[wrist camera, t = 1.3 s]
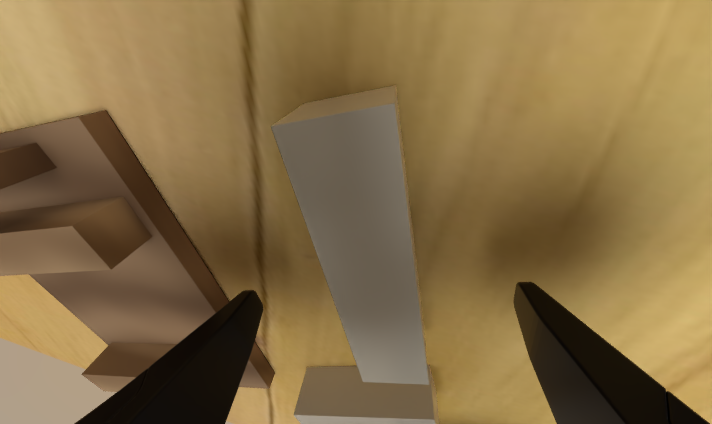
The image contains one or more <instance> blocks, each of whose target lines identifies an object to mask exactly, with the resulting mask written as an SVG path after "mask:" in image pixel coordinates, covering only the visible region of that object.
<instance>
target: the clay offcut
mask: <svg viewBox="0 0 712 424" xmlns="http://www.w3.org/2000/svg"><path fill="white" fill-rule="evenodd" d="M427 368H428V380H429V385H424V384H400V383H375V382H363V381H362V378H361V375H360V372H359V370H358V367H357V366H329V367H307V369H306V373H305V376H304V380H303V383H302V387H301V390H300V394H299V398H298V401H297V405H296V408H295V412H294V416H295V417H296V418H297V420H298V421H299V422H300V423H301V424H440V422H439V412H438V403H437V393H436V388H435V384H434V380H433V376H432V373H431V369H430V365H427Z"/></svg>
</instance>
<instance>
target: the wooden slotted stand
mask: <svg viewBox="0 0 712 424" xmlns="http://www.w3.org/2000/svg"><path fill="white" fill-rule="evenodd" d="M26 274H29V275H30V276H31V277H32V278H33V279H35V280H36V281H37V282H38V283H39V284H40V285H41V286H42V287H44V288H45V289H46V290H47V291H48V292H49V293H50V294H51V295H53V296H54V297H55V298H56V299H57V300H58V301H59V302H60V303H61V304H63V305H64V306H65V307H66V308H67V309H68V310H69V311H70V312H72V313H73V314H74V315H75V316H76V317H77V318H78V319H79V320H81V321H82V322H83V323H84V324H85V325H86V326H87V327H88V328H90V329H91V330H92V331H93V332H94V333H95V334H96V335H97V336H99V337H100V338H101V339H102V340H103V341H104V342H105V343H106V344H108V345H109V346H108V347H107V348H106V349H105V350H104V351H103V352H102V353H101V354H100V355H99V356H98V357H97V358H96V359H95V361H94V362H93V363H92V364H91V365H90V366H89V367H88V368H87V369H86V370H85V371H84V372H83V373H82V375H83V376H84V377H86V378H87V379H88V380H90V381H91V382H92V383H94V384H95V385H96V386H98V387H99V388H100V389H102V390H103V391H110V392H118V391H119V390H121V389H122V388H123V387H124V386H126V385H127V384H128V383H129V382H131V381H132V380H133V379H135V378H136V377H137V376H138V375H140V374H141V373H142V372H143V371H144V370H146V369H147V368H149V367H150V366H151V365H152V364H153V363H154V362H156V361H157V360H158V359H159V358H161V357H162V356H163V355H164V354H166V353H167V352H168V351H169V350H171V349H172V348H173V347H174V346H175V345H177V344H178V343H179V342H180V341H182V340H183V339H184V338H185V337H187V336H188V335H189V334H190V333H192V332H193V331H194V330H195V329H197V328H198V327H199V326H200V325H202V324H203V323H204V322H205V321H206V320H208V319H209V318H210V317H211V316H213V315H214V314H215V313H216V312H218V311H219V310H220V309H221V308H223V307H224V306H225V305H226V304H227V303H229V301H228V300H227V298H226V297H225V295H224V293H223V292H222V290H221V289H220V287H219V286H218V284H217V283H216V281H215V280H214V278H213V276H212V275H211V273H210V272H209V270H208V269H207V267H206V266H205V264H204V262H203V261H202V259H201V258H200V256H199V255H198V253H197V252H196V250H195V248H194V247H193V245H192V244H191V242H190V241H189V239H188V238H187V236H186V235H185V233H184V231H183V230H182V228H181V227H180V225H179V224H178V222H177V221H176V219H175V217H174V216H173V214H172V213H171V211H170V210H169V208H168V207H167V205H166V203H165V202H164V200H163V199H162V197H161V196H160V194H159V193H158V191H157V190H156V188H155V186H154V185H153V183H152V182H151V180H150V179H149V177H148V176H147V174H146V172H145V171H144V169H143V168H142V166H141V165H140V163H139V162H138V160H137V159H136V157H135V155H134V154H133V152H132V151H131V149H130V148H129V146H128V145H127V143H126V141H125V140H124V138H123V137H122V135H121V134H120V132H119V131H118V129H117V127H116V126H115V124H114V123H113V121H112V120H111V118H110V117H109V115H108V114H107V112H106V110H105V111H100V112H96V113H91V114H87V115H82V116H77V117H73V118H68V119H64V120H59V121H55V122H50V123H46V124H41V125H36V126H32V127H27V128H23V129H18V130H14V131H9V132H5V133H0V276H8V275H26ZM274 374H275V373H274V371H273V369H272V368H271V366H270V365H269V363H268V362H267V360H266V359H265V357H264V356H263V354H262V352H261V351H260V349H259V348H258V346H257V345H256V343H255V342H254V346H253V349H252V352H251V355H250V358H249V360H248V363H247V366H246V368H245V371H244V374H243V377H242V379H241V382H240V385H239V387H250V388H267V389H269V388H270V385H271V383H272V380H273V377H274Z"/></svg>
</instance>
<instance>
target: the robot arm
mask: <svg viewBox="0 0 712 424" xmlns="http://www.w3.org/2000/svg"><path fill="white" fill-rule="evenodd" d="M514 307H515V311H516V314H517V317H518V321H519V324H520V328H521V331H522V334H523V338H524V341H525V345H526V348H527V351H528V354H529V357H530V360H531V363H532V365H533V368H534V370H535V372H536V375H537V377H538V380H539V382H540V384H541V387H542V389H543V391H544V394H545V396H546V399H547V401H548V403H549V406H550V408H551V411H552V413H553V415H554V418H555V420H556V422H557V424H710V423H709V422H707V421H706V420H705V419H703V418H702V417H701V416H700V415H698V414H697V413H696V412H694V411H693V410H692V409H691V408H689V407H688V406H687V405H686V404H684V403H683V402H682V401H681V400H679V399H678V398H677V397H676V396H674V395H673V394H672V393H671V392H668V391H667V392H666V389H665V388H664V387H663V386H662V385H660V384H659V383H658V382H657V381H655V380H654V379H653V378H652V377H650V376H649V375H648V374H647V373H645V372H644V371H643V370H642V369H640V368H639V367H638V366H637V365H635V364H634V363H633V362H632V361H630V360H629V359H628V358H627V357H625V356H624V355H623V354H622V353H621V352H619V351H618V350H617V349H616V348H614V347H613V346H612V345H611V344H609V343H608V342H607V341H606V340H604V339H603V338H602V337H601V336H599V335H598V334H597V333H596V332H594V331H593V330H592V329H591V328H589V327H588V326H587V325H586V324H584V323H583V322H582V321H581V320H579V319H578V318H577V317H576V316H574V315H573V314H572V313H571V312H569V311H568V310H567V309H566V308H564V307H563V306H562V305H561V304H559V303H558V302H557V301H556V300H554V299H553V298H552V297H551V296H549V295H548V294H547V293H546V292H544V291H543V290H542V289H541V288H539V287H538V286H537V285H536V284H534V283H532V282H518V283H517V284H516V289H515V295H514ZM262 312H263V304H262V302H261V300H260V298H259V297H258V295H257V293H256V292H255V291H254V290H245V291H242V292H241V293H240V294H239V295H237V296H236V297H235V298H234V299H232V300H231V301H230V302H229V303H227V304H226V305H225V306H224V307H223V308H221V309H220V310H219V311H218V312H216V313H215V314H214V315H213V316H211V317H210V318H209V319H208V320H206V321H205V322H204V323H203V324H202V325H200V326H199V327H198V328H197V329H195V330H194V331H193V332H192V333H190V334H189V335H188V336H187V337H185V338H184V339H183V340H182V341H180V342H179V343H178V344H177V345H175V346H174V347H173V348H172V349H171V350H169V351H168V352H167V353H166V354H164V355H163V356H162V357H161V358H159V359H158V360H157V361H156V362H154V363H153V364H152V365H151V366H150V367H149V368H147V369H146V370H144V371H143V372H142V373H141V374H140V375H138V376H137V377H136V378H135V379H133V380H132V381H131V382H129V383H128V384H127V385H126V386H124V387H123V388H122V389H121V390H119V391H118V392H117V393H115V394H114V395H113V396H111V397H110V398H109V399H107V400H106V401H105V402H103V403H102V404H101V405H99V406H98V407H97V408H95V409H94V410H93V411H91V412H90V413H88V414H87V415H86V416H84V417H83V418H82V419H80V420H79V421H78V422H76V423H75V424H225V422H226V420H227V417H228V414H229V411H230V409H231V406H232V403H233V401H234V398H235V395H236V393H237V390H238V387H239V385H240V382H241V379H242V377H243V374H244V371H245V368H246V366H247V363H248V360H249V358H250V355H251V352H252V349H253V346H254V342H255V338H256V335H257V331H258V327H259V323H260V320H261V316H262Z"/></svg>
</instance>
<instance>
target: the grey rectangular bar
mask: <svg viewBox="0 0 712 424" xmlns="http://www.w3.org/2000/svg"><path fill="white" fill-rule="evenodd" d="M271 128H272V131H273V134H274V137H275V140H276V142H277V145H278V148H279V151H280V153H281V156H282V159H283V162H284V164H285V167H286V170H287V173H288V176H289V178H290V181H291V184H292V187H293V189H294V192H295V195H296V198H297V201H298V203H299V206H300V209H301V212H302V214H303V217H304V220H305V223H306V225H307V228H308V231H309V234H310V237H311V239H312V242H313V245H314V248H315V250H316V253H317V256H318V259H319V261H320V264H321V267H322V270H323V273H324V275H325V278H326V281H327V284H328V286H329V289H330V292H331V295H332V297H333V300H334V303H335V306H336V309H337V311H338V314H339V317H340V320H341V322H342V325H343V328H344V331H345V333H346V336H347V339H348V342H349V345H350V347H351V350H352V353H353V356H354V358H355V361H356V364H357V367H358V370H359V372H360V375H361V378H362V381H363V382H375V383H400V384H424V385H429V380H428V368H427V356H426V344H425V332H424V323H423V314H422V306H421V297H420V288H419V280H418V271H417V263H416V254H415V245H414V237H413V228H412V219H411V211H410V202H409V193H408V185H407V176H406V168H405V159H404V150H403V142H402V133H401V124H400V116H399V107H398V98H397V90H396V85H393V86H388V87H383V88H378V89H373V90H368V91H363V92H358V93H353V94H348V95H343V96H338V97H333V98H329V99H324V100H319V101H314V102H309V103H304V104H302V105H301V106H299V107H298V108H296V109H295V110H293V111H292V112H291V113H289V114H288V115H286V116H285V117H283V118H282V119H280V120H279V121H278V122H276V123H275V124H273V125H272V126H271Z"/></svg>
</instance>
